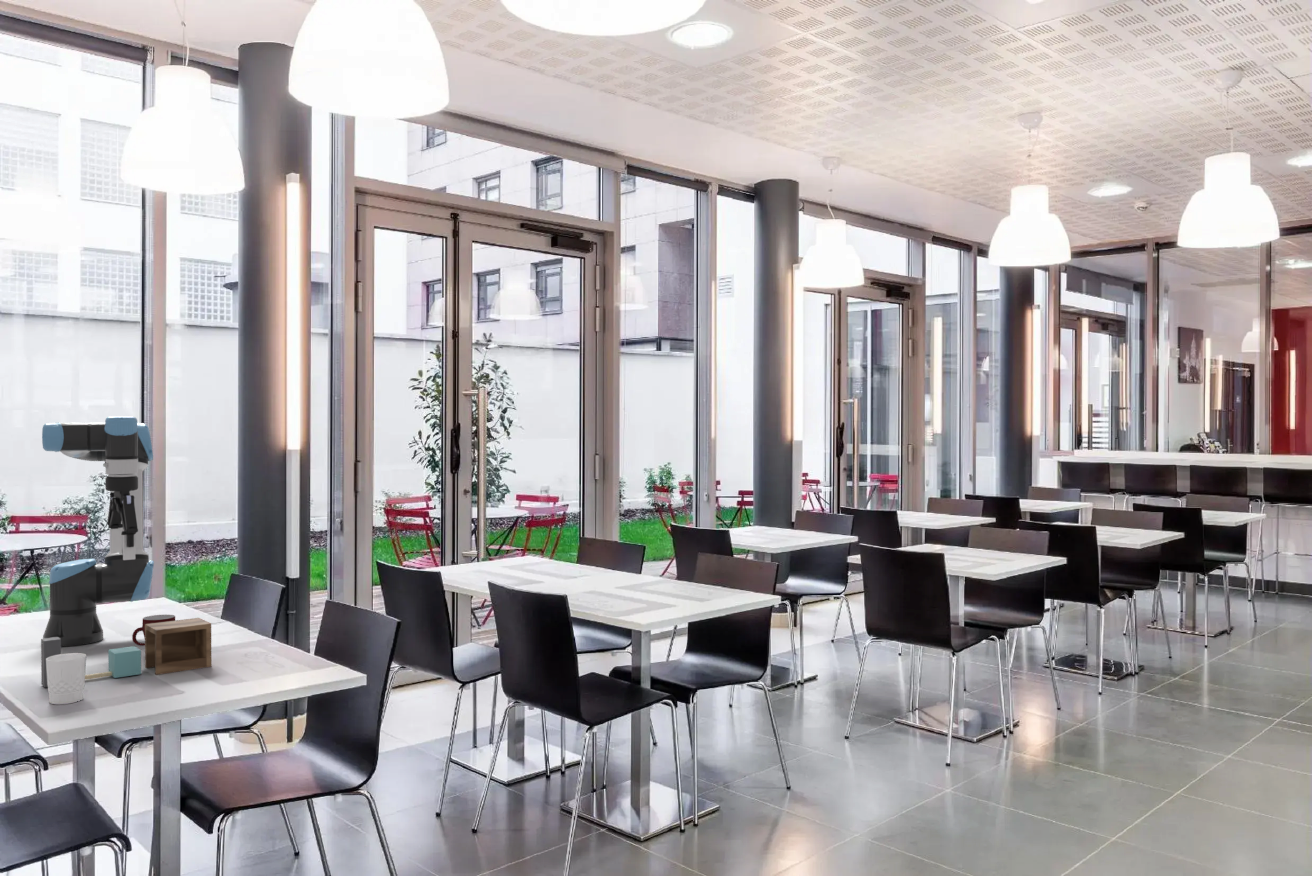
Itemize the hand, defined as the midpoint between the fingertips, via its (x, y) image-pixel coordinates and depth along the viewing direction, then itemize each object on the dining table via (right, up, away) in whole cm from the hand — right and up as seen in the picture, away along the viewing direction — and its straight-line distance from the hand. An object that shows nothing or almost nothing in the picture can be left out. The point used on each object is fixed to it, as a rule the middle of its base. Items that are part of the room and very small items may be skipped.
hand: (122, 556), depth 261 cm
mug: (+2, -28, +12) cm, 31 cm away
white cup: (+6, -29, -34) cm, 45 cm away
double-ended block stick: (+1, -28, -16) cm, 32 cm away
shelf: (+15, -28, -3) cm, 32 cm away
